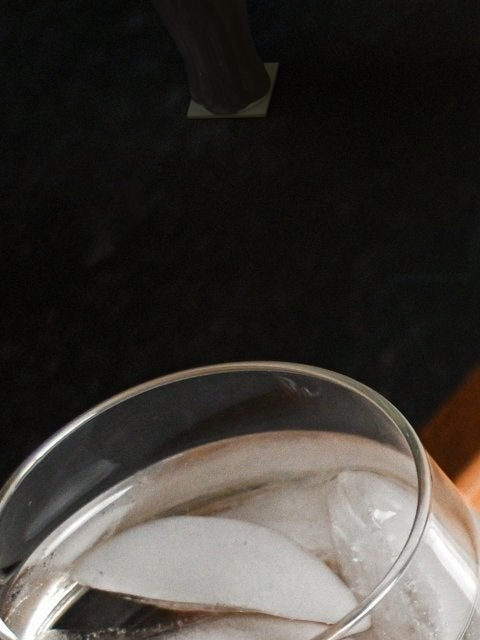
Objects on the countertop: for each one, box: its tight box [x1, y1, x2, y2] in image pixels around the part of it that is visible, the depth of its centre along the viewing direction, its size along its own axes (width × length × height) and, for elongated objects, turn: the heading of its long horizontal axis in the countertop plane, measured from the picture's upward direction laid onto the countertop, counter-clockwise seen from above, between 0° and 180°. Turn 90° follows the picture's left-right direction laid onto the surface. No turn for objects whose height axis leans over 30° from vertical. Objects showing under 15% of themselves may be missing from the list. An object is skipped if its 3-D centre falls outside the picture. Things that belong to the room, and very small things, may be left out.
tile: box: [186, 62, 280, 120], centre depth 146 cm, size 6×6×1 cm
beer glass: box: [150, 0, 271, 115], centre depth 140 cm, size 7×7×15 cm
